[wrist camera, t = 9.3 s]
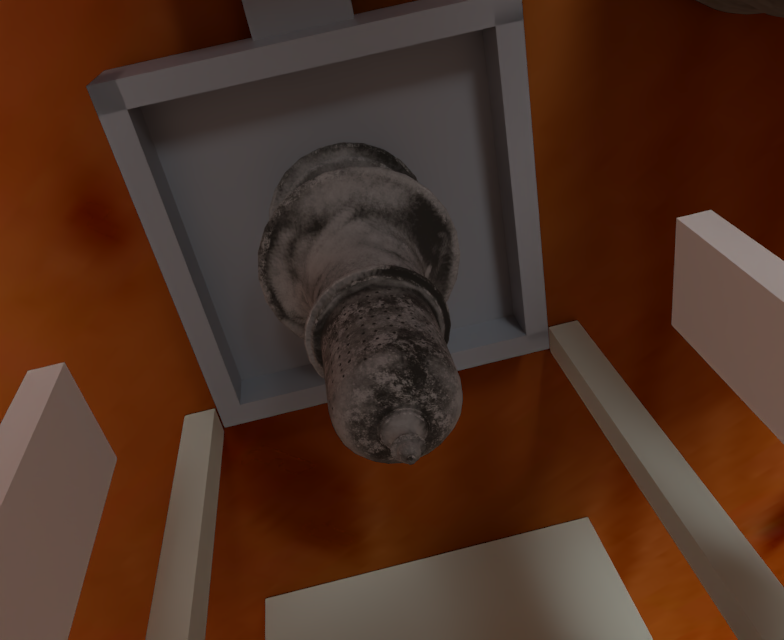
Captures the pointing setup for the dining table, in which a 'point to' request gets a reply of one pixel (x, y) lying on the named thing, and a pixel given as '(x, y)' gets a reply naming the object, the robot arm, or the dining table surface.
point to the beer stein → (747, 6)
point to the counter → (486, 551)
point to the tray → (318, 129)
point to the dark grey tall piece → (368, 295)
